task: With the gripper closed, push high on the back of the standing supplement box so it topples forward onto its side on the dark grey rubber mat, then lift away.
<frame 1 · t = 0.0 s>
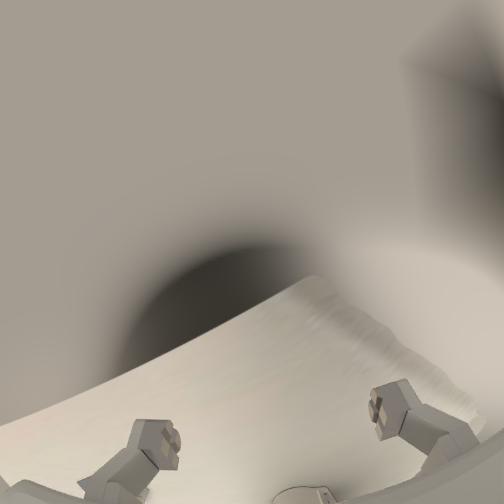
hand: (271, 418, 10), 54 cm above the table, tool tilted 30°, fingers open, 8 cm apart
supplement box: (136, 489, 59), on the table
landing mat: (110, 499, 58), on the table
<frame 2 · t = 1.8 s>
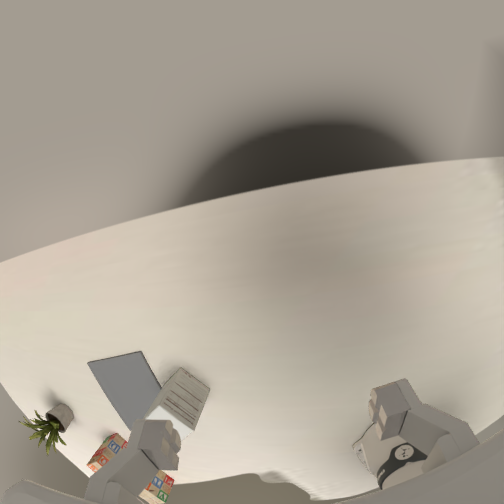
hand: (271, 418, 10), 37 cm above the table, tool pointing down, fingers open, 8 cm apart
stack of blocks: (140, 459, 60), on the table
supplement box: (186, 387, 53), on the table
house plant: (66, 407, 60), on the table
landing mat: (134, 395, 55), on the table
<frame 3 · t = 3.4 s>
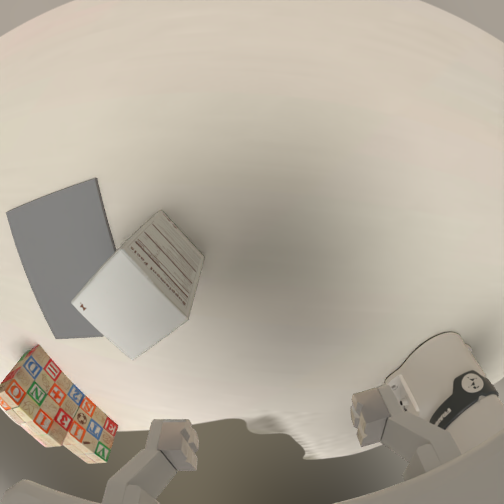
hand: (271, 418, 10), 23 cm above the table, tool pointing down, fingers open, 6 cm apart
stack of blocks: (71, 391, 41), on the table
supplement box: (162, 252, 32), on the table
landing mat: (68, 270, 32), on the table
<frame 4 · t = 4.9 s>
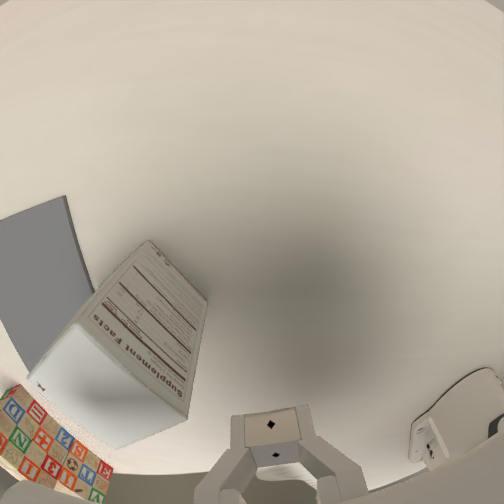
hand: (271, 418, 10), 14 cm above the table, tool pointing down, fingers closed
stack of blocks: (59, 432, 32), on the table
supplement box: (151, 294, 24), on the table
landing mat: (41, 309, 24), on the table
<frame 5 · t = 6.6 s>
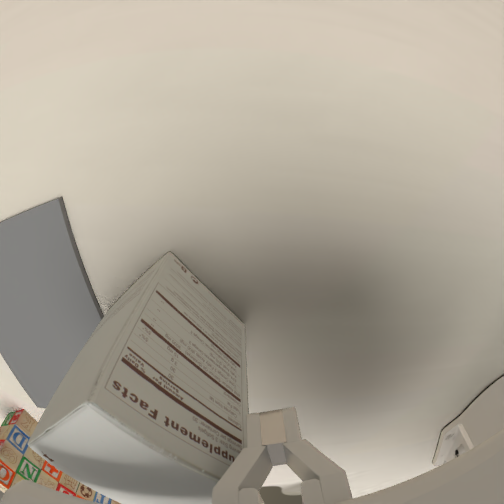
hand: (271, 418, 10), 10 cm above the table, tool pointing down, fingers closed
stack of blocks: (69, 455, 28), on the table
supplement box: (174, 316, 20), on the table, touching gripper
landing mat: (38, 332, 20), on the table
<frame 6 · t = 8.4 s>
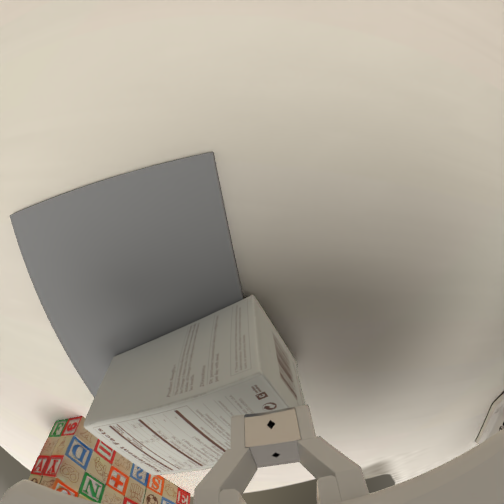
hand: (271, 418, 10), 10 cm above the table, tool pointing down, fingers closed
stack of blocks: (127, 463, 28), on the table
supplement box: (289, 366, 16), point 4 cm above the table, touching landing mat
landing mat: (136, 320, 20), on the table
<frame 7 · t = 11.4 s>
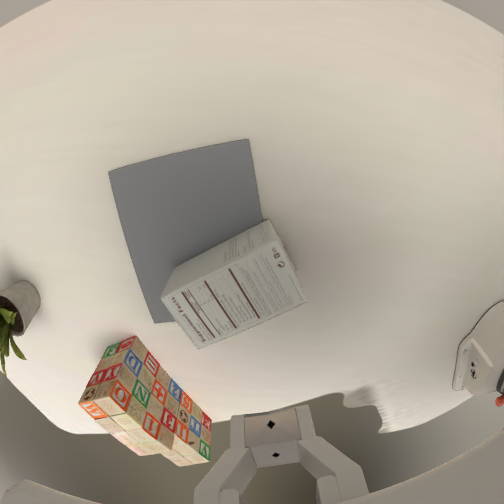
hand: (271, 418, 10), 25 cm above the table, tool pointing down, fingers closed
stack of blocks: (162, 386, 42), on the table
supplement box: (290, 256, 30), point 4 cm above the table, touching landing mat
house plant: (29, 288, 35), on the table
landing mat: (193, 240, 33), on the table
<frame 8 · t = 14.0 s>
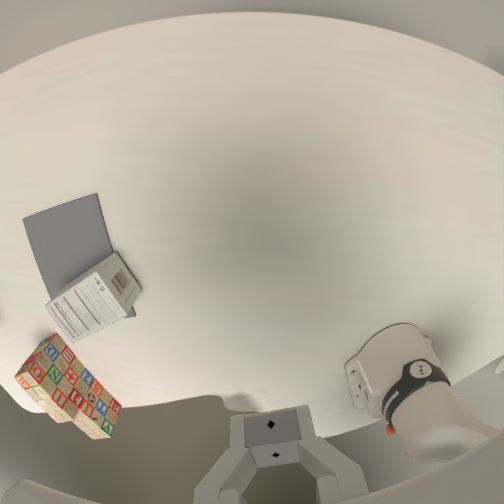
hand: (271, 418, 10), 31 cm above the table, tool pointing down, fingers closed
stack of blocks: (81, 374, 50), on the table
supplement box: (122, 281, 37), point 4 cm above the table, touching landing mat
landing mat: (75, 266, 41), on the table
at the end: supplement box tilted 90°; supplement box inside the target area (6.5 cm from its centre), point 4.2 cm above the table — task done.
